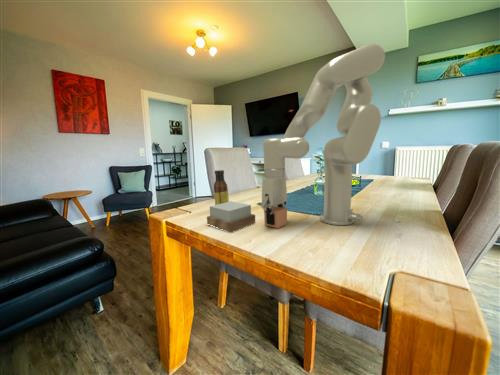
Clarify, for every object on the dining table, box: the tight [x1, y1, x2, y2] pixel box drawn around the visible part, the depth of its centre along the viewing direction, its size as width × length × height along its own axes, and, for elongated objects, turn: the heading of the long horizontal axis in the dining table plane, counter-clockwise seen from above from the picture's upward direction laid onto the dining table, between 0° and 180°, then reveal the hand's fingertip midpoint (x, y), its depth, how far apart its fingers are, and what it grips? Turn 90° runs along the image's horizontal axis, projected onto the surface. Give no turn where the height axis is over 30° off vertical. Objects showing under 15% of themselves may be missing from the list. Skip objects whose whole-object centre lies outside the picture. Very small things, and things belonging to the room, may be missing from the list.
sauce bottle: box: [213, 169, 230, 205], centre depth 97 cm, size 7×6×20 cm
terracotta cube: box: [263, 205, 288, 229], centre depth 81 cm, size 6×6×6 cm
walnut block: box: [206, 213, 256, 233], centre depth 83 cm, size 13×13×4 cm
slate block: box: [209, 200, 252, 222], centre depth 83 cm, size 11×11×4 cm
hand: (275, 221), depth 81 cm, fingers closed on terracotta cube, 6 cm apart
